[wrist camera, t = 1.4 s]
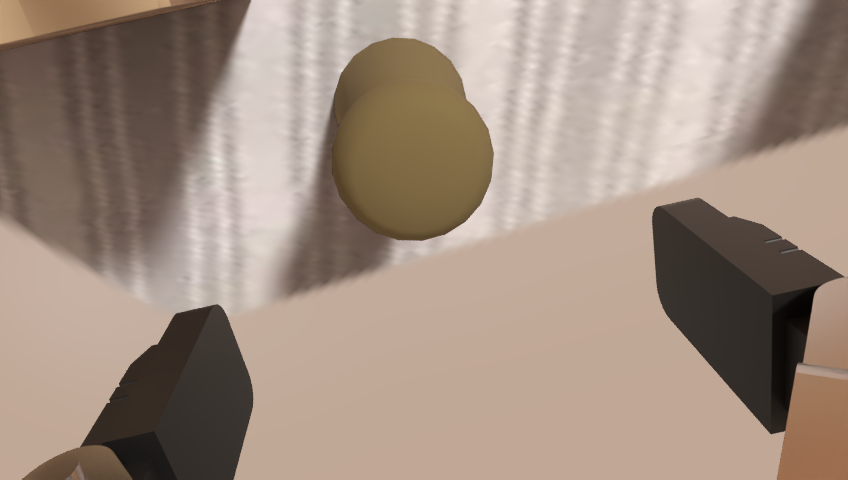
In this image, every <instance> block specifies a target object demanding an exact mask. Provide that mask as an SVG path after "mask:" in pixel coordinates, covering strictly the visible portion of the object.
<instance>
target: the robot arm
mask: <svg viewBox="0 0 848 480" xmlns="http://www.w3.org/2000/svg"><path fill="white" fill-rule="evenodd" d="M652 225H653V239H654V254H655V268H656V282H657V290H658V294H659V298H660V301H661V304H662V306H663V309H664V311H665V312H666V314H667V316H668V317H669V318H670V320H671V321H672V322H673V323H674V324H675V325H676V326H677V328H678V329H679V330H680V331H681V332H682V333H683V334H684V336H685V337H686V338H687V339H688V340H689V341H690V342H691V343H692V345H693V346H694V347H695V348H696V349H697V350H698V352H699V353H700V354H701V355H702V356H703V357H704V358H705V360H706V361H707V362H708V363H709V364H710V365H711V366H712V368H713V369H714V370H715V371H716V372H717V373H718V374H719V375H720V377H721V378H722V379H723V380H724V381H725V382H726V383H727V385H728V386H729V387H730V388H731V389H732V390H733V392H734V393H735V394H736V395H737V396H738V397H739V398H740V399H741V401H742V402H743V403H744V404H745V405H746V406H747V408H748V409H749V410H750V411H751V412H752V413H753V414H754V416H755V417H756V418H757V419H758V420H759V421H760V422H761V424H762V425H763V426H764V427H765V428H766V429H767V430H768V431H769V433H770V434H774V433H779V432H783V431H785V436H784V441H783V447H782V452H781V458H780V464H779V470H778V475H777V480H848V277H844V276H842V275H841V274H839V273H838V272H836V271H835V270H833V269H832V268H830V267H828V266H827V265H825V264H824V263H822V262H820V261H819V260H817V259H816V258H814V257H813V256H811V255H809V254H808V253H806V252H805V251H803V250H798V247H797V246H795V245H794V244H792V243H791V242H789V241H787V240H786V239H785V240H782V237H781V236H779V235H778V234H776V233H775V232H773V231H772V230H770V229H768V228H767V227H765V226H764V225H762V224H758V223H755V222H752V221H748V220H744V219H741V218H737V217H730V218H729V217H727V216H726V215H724V214H723V213H721V212H720V211H718V210H717V209H715V208H714V207H712V206H711V205H709V204H708V203H706V202H705V201H703V200H702V199H700V198H695V199H690V200H686V201H681V202H676V203H672V204H667V205H663V206H658V207H656V208H655V209H654V212H653V216H652ZM119 385H120V387H117V388H116V389H115V391H114V393H113V394H112V396H111V398H110V399H109V400H110V403H107V404H106V406H105V408H104V409H103V411H102V412H101V414H100V416H99V417H98V419H97V420H96V422H95V424H94V425H93V427H92V429H91V431H90V432H89V434H88V435H87V437H86V438H85V440H84V442H83V443H82V445H81V447H80V448H76V449H73V450H70V451H67V452H65V453H63V454H60V455H58V456H56V457H54V458H52V459H50V460H48V461H47V462H45V463H43V464H42V465H40V466H39V467H37V468H36V469H34V470H33V471H32V472H30V473H29V474H28V475H27V476H25V477H24V478H23V479H22V480H233V479H234V476H235V472H236V468H237V465H238V461H239V457H240V453H241V449H242V446H243V442H244V438H245V435H246V431H247V427H248V423H249V419H250V416H251V412H252V408H253V390H252V384H251V380H250V376H249V373H248V370H247V368H246V365H245V362H244V360H243V358H242V355H241V352H240V349H239V347H238V344H237V342H236V339H235V336H234V334H233V331H232V329H231V326H230V323H229V320H228V318H227V315H226V313H225V312H224V310H223V308H222V307H221V306H219V305H217V304H216V305H212V306H207V307H203V308H198V309H194V310H189V311H185V312H180V313H177V314H175V315H174V317H173V319H172V320H171V322H170V324H169V326H168V328H167V329H166V331H165V333H164V334H163V336H162V338H161V340H160V341H159V343H158V344H157V345H153V346H151V347H150V348H149V349H148V350H147V351H145V352H144V353H143V354H142V355H141V356H140V357H139V358H137V359H136V360H135V361H134V362H133V363H132V364H131V365H130V367H129V368H128V370H127V371H126V373H125V375H124V377H123V378H122V379H121V381H120V383H119Z"/></svg>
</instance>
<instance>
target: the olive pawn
mask: <svg viewBox="0 0 848 480" xmlns="http://www.w3.org/2000/svg"><path fill="white" fill-rule="evenodd" d="M335 117H336V120H337V123H338V126H339V129H338V132H337V135H336V138H335V141H334V144H333V147H332V174H333V177H334V180H335V183H336V186H337V189H338V192H339V195H340V197H341V198H342V200H343V201H344V202H345V204H346V205H347V206H348V208H349V209H350V210H351V212H352V213H353V214H354V216H355V217H356V218H357V219H358V220H359V221H361V222H362V223H363V224H365V225H366V226H368V227H369V228H370V229H372V230H373V231H375V232H376V233H379V234H382V235H385V236H388V237H391V238H394V239H397V240H419V241H423V240H426V239H430V238H434V237H437V236H441V235H445V234H447V233H448V232H450V231H451V230H453V229H455V228H456V227H458V226H459V225H461V224H463V223H464V222H466V220H467V219H468V218H469V217H470V216H471V215H472V214H473V212H474V211H475V210H476V209H477V208H478V207H479V206H480V204H481V203H482V200H483V198H484V196H485V193H486V191H487V189H488V187H489V184H490V182H491V177H492V167H493V156H494V152H493V148H492V144H491V139H490V135H489V130H488V128H487V127H486V125H485V123H484V122H483V120H482V118H481V117H480V115H479V113H478V112H477V110H476V109H475V107H474V106H473V105H472V104H471V103H470V102H468V101H467V100H466V96H465V92H464V88H463V83H462V79H461V77H460V76H459V74H458V72H457V71H456V69H455V67H454V66H453V64H452V62H451V61H450V60H449V59H448V58H447V57H446V56H444V55H443V54H442V53H441V52H440V51H438V50H437V49H436V48H435V47H433V46H431V45H428V44H426V43H423V42H421V41H418V40H416V39H406V38H390V39H387V40H383V41H380V42H376V43H373V44H371V45H369V46H368V47H366V48H365V49H364V50H362V51H361V52H359V53H358V54H356V55H355V56H354V57H353V58H352V60H351V61H350V62H349V64H348V65H347V66H346V68H345V69H344V70H343V72H342V73H341V76H340V79H339V82H338V85H337V88H336V91H335Z"/></svg>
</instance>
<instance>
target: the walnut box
mask: <svg viewBox="0 0 848 480" xmlns="http://www.w3.org/2000/svg"><path fill="white" fill-rule="evenodd" d="M217 1H221V0H0V51H1V50H6V49H10V48H14V47H19V46H23V45H28V44H32V43H36V42H41V41H45V40H50V39H54V38H58V37H63V36H67V35H72V34H76V33H80V32H85V31H89V30H94V29H98V28H102V27H107V26H111V25H116V24H120V23H124V22H129V21H133V20H137V19H142V18H146V17H151V16H155V15H159V14H164V13H168V12H173V11H177V10H181V9H186V8H190V7H195V6H199V5H203V4H208V3H212V2H217Z"/></svg>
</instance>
